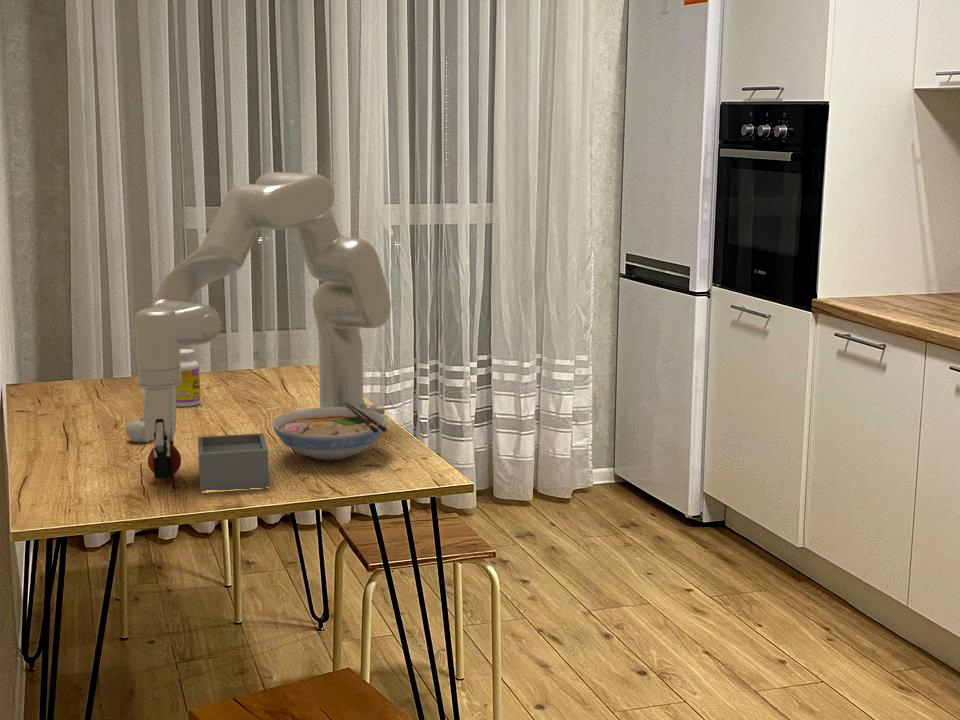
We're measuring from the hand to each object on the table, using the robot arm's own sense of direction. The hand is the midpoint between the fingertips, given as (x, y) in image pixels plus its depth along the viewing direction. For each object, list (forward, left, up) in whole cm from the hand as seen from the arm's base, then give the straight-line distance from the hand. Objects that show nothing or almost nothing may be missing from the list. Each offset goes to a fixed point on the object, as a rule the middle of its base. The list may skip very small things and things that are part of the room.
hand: (165, 471), depth 206 cm
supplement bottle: (0, -61, -2) cm, 61 cm away
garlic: (+7, -29, -2) cm, 30 cm away
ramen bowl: (-31, -11, -2) cm, 33 cm away
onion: (0, 0, -2) cm, 2 cm away
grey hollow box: (-12, +3, -2) cm, 13 cm away
